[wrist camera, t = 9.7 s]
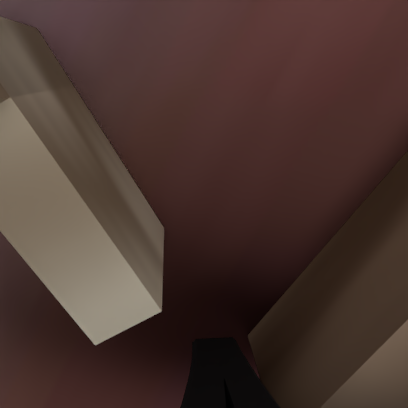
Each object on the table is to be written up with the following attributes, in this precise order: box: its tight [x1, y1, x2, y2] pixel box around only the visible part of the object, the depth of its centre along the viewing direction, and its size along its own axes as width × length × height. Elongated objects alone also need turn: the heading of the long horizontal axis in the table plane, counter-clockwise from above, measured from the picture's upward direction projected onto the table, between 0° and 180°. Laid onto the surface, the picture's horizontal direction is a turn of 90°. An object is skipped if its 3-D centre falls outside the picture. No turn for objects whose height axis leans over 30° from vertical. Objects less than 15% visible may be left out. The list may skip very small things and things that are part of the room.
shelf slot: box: [0, 17, 164, 345], centre depth 7 cm, size 6×15×6 cm, turn 118°
